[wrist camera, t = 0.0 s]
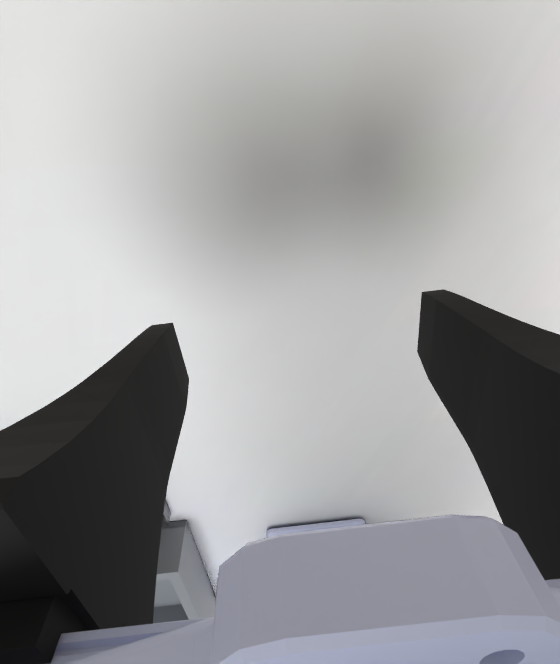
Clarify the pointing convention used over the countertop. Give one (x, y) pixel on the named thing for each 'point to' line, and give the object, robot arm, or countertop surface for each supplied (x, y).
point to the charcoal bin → (181, 578)
